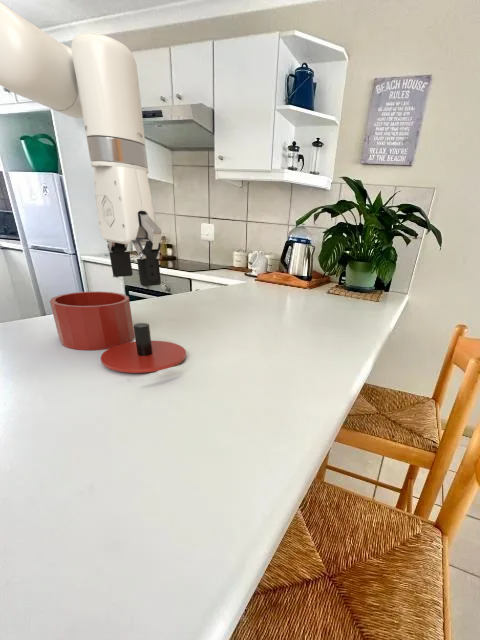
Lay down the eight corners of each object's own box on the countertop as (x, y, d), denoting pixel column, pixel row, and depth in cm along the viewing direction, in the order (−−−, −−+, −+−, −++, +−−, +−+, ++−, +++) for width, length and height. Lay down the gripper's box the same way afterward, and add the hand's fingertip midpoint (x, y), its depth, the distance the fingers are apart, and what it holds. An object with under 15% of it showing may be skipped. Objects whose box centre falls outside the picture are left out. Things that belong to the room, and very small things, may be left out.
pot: (51, 336, 68) (40, 295, 64) (117, 325, 77) (111, 289, 73) (75, 355, 60) (64, 310, 56) (146, 341, 69) (140, 301, 66)
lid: (88, 356, 60) (81, 321, 57) (161, 341, 70) (158, 310, 67) (124, 384, 52) (117, 344, 49) (201, 361, 62) (199, 328, 59)
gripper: (68, 157, 49) (92, 274, 57) (119, 148, 39) (139, 291, 47) (119, 165, 54) (134, 272, 62) (175, 159, 44) (185, 287, 52)
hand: (136, 280), depth 54 cm, fingers open, 9 cm apart
